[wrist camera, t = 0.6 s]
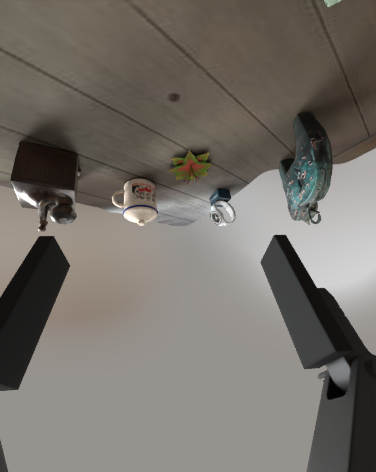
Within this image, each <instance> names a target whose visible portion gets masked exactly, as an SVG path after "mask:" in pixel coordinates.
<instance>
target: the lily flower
mask: <svg viewBox="0 0 376 472" xmlns="http://www.w3.org/2000/svg"><path fill="white" fill-rule="evenodd" d="M208 154H209V152H208V153H206V154H202V155H199V156H196V157H195V156H194V155H193V154H192V153H190V151H189V152H188V154H187V156H186V157H185V158H172V157H171V158H172V161H173V163H174V165H175V166H176V168H173V169H171V170H169V171H171V172H173V173H175V174H176V180H178V179H184V178H186V179H188V180H192V181H193V180H194V179H195V180H196V178H197V179H199V178H198V176H199V177H201V176H208V175H207V171H206V170H207V169H208V168H210V167H211V165H213V164H209V163H205V162H206V161H207V159H208ZM184 181H186V180H184ZM196 181H197V180H196ZM188 182H189V181H188ZM187 184H188V183H187Z"/></svg>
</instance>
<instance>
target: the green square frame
mask: <svg viewBox="0 0 376 472" xmlns="http://www.w3.org/2000/svg"><path fill="white" fill-rule="evenodd" d="M339 1H341V0H324V2H325V3H326V5H327V7H330V6H332V5H334V4H335V3H338V2H339Z"/></svg>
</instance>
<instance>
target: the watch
mask: <svg viewBox="0 0 376 472" xmlns="http://www.w3.org/2000/svg"><path fill="white" fill-rule="evenodd" d="M230 199H231V195H230V191H229V190H225V189H217V190H216V191H215V192H214V194H213V195H212V196H211V197H210V201H211V206H212V208H211V211H210V217H211V219H212V221H213V222H214V223H215V224H217V225H220V226H228V225H229V224H231V223H232V222H233V221H234V220H235V217H236V215H235V211H234V209H233V207H232V206H231V205H230V204H229V203H227V202H228V201H229V200H230ZM215 206H216V207H223V206H224V207H225V209H226V210H227V211H228V213H229V214H230V215H231V217H232V220H231V222H226V220H225V219H224V216H223V213H222V212H221V211H220V210H218V209H217V208H216V207H215Z"/></svg>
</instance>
